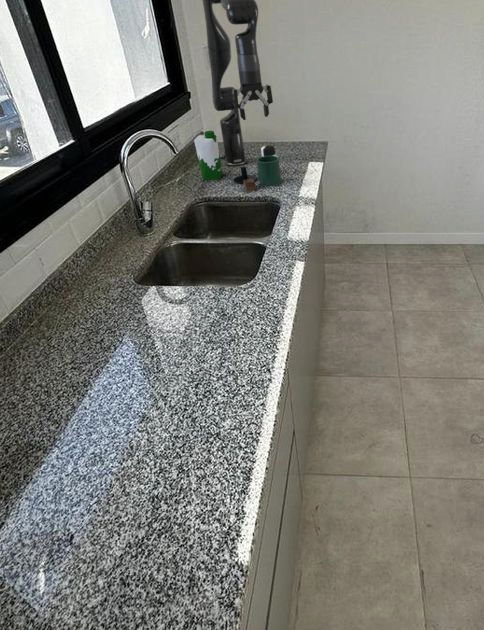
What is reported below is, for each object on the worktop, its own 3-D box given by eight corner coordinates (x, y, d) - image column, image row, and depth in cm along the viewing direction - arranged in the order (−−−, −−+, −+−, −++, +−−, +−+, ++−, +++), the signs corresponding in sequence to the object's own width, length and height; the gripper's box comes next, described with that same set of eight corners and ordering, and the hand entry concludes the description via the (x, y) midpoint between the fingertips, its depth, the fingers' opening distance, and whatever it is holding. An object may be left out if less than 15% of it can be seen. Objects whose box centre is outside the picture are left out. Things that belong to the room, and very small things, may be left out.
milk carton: (220, 181, 193) (211, 134, 181) (200, 182, 194) (190, 135, 182) (225, 175, 200) (217, 129, 188) (205, 175, 201) (196, 129, 189)
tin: (257, 182, 191) (254, 157, 185) (277, 178, 194) (274, 154, 188) (263, 189, 184) (260, 164, 178) (284, 185, 187) (281, 160, 181)
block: (244, 189, 185) (242, 180, 182) (253, 187, 186) (252, 178, 184) (246, 192, 182) (245, 183, 179) (256, 190, 183) (254, 181, 181)
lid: (231, 180, 194) (229, 166, 191) (253, 176, 198) (251, 162, 194) (237, 187, 187) (234, 172, 183) (259, 183, 190) (257, 168, 186)
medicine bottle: (279, 171, 202) (277, 144, 194) (276, 176, 196) (274, 149, 189) (264, 171, 202) (261, 144, 195) (261, 176, 197) (257, 149, 189)
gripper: (265, 65, 157) (270, 113, 167) (226, 69, 153) (234, 118, 163) (271, 67, 152) (276, 117, 162) (231, 71, 148) (239, 122, 157)
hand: (255, 118), depth 162 cm, fingers open, 8 cm apart
